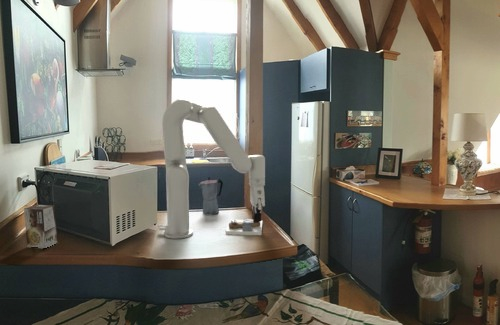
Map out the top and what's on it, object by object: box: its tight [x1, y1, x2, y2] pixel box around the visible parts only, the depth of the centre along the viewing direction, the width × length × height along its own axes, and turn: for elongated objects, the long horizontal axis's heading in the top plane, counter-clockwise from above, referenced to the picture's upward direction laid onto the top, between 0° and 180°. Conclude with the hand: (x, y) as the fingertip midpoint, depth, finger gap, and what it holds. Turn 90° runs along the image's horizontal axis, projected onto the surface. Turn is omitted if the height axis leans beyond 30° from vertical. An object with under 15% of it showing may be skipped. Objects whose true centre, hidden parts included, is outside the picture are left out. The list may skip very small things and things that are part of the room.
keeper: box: [230, 218, 253, 231], centre depth 157 cm, size 10×6×4 cm, turn 86°
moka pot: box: [198, 176, 224, 215], centre depth 189 cm, size 10×15×20 cm, turn 133°
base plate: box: [225, 219, 263, 236], centre depth 162 cm, size 16×18×2 cm
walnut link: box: [228, 209, 260, 228], centre depth 159 cm, size 15×4×8 cm, turn 105°
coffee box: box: [23, 204, 58, 249], centre depth 138 cm, size 9×6×16 cm
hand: (256, 219), depth 161 cm, fingers closed on walnut link, 3 cm apart
